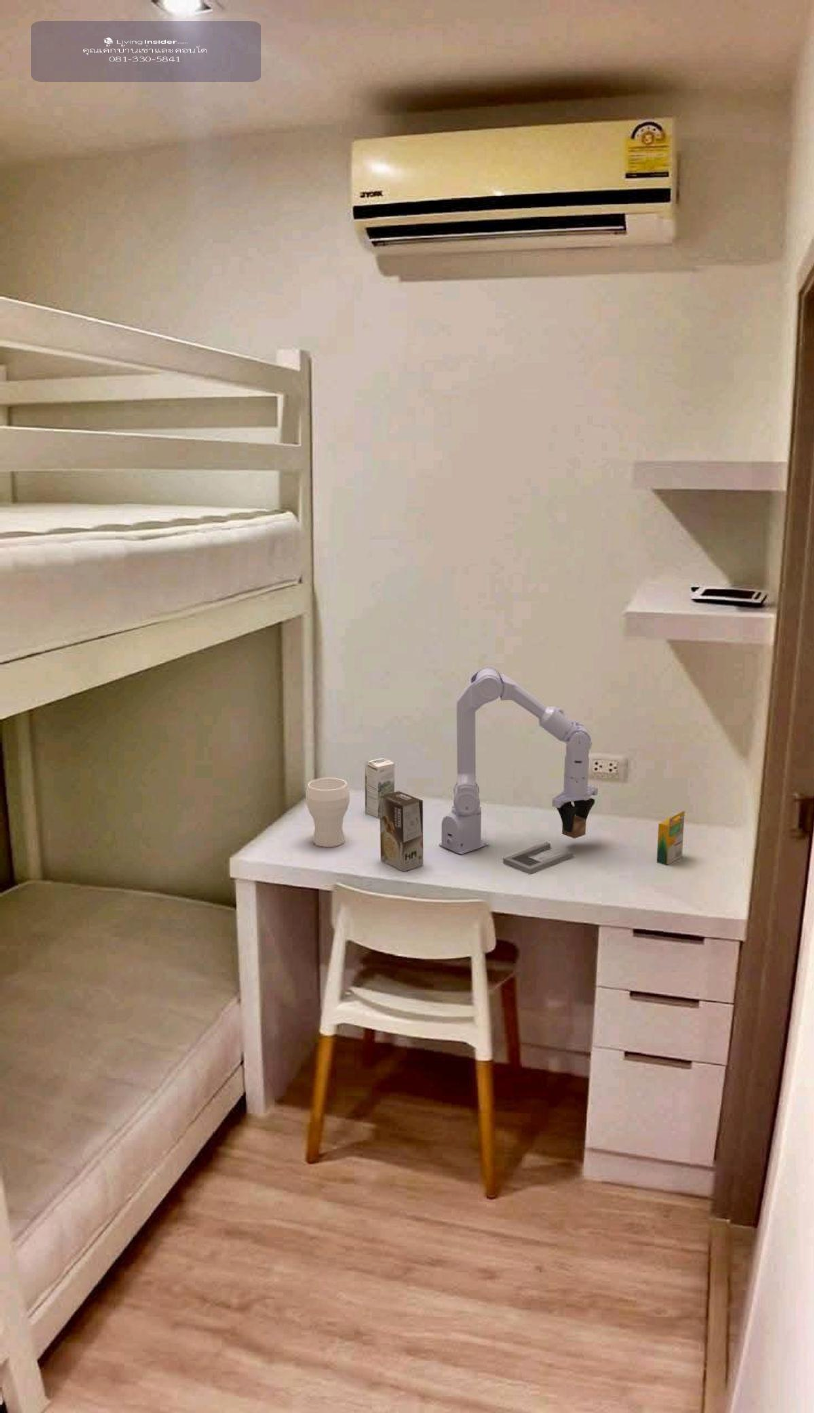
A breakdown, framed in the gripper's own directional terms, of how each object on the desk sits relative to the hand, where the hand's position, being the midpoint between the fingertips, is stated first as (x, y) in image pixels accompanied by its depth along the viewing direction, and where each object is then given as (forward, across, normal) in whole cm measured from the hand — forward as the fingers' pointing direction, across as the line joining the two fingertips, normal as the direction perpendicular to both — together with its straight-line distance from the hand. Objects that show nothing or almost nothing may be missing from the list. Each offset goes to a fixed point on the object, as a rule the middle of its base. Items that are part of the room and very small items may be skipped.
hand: (573, 828), depth 244 cm
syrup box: (+5, -21, +49) cm, 54 cm away
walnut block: (+1, 0, 0) cm, 1 cm away
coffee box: (+5, -38, +20) cm, 43 cm away
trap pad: (+5, -16, 0) cm, 16 cm away
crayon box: (+5, +11, -20) cm, 23 cm away
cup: (+5, -43, +42) cm, 60 cm away
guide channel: (+5, -12, 0) cm, 13 cm away
